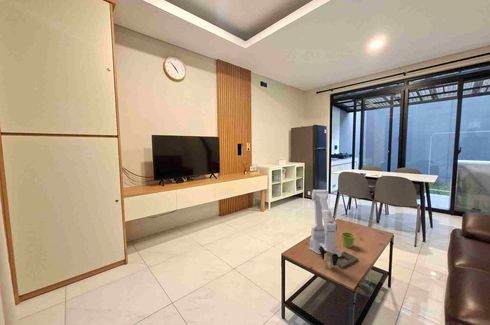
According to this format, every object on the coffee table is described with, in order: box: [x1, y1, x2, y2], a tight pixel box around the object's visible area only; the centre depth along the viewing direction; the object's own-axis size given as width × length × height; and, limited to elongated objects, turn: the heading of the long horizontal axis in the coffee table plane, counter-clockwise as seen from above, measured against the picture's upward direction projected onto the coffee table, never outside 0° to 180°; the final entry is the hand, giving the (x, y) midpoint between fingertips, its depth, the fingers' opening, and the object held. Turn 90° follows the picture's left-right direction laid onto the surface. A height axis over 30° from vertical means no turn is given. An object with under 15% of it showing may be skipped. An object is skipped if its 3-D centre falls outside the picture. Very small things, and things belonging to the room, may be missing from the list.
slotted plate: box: [335, 251, 359, 270], centre depth 134 cm, size 10×17×2 cm, turn 121°
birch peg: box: [323, 251, 335, 270], centre depth 128 cm, size 4×4×8 cm
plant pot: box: [340, 231, 356, 249], centre depth 153 cm, size 9×9×9 cm
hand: (329, 262), depth 128 cm, fingers open, 7 cm apart
